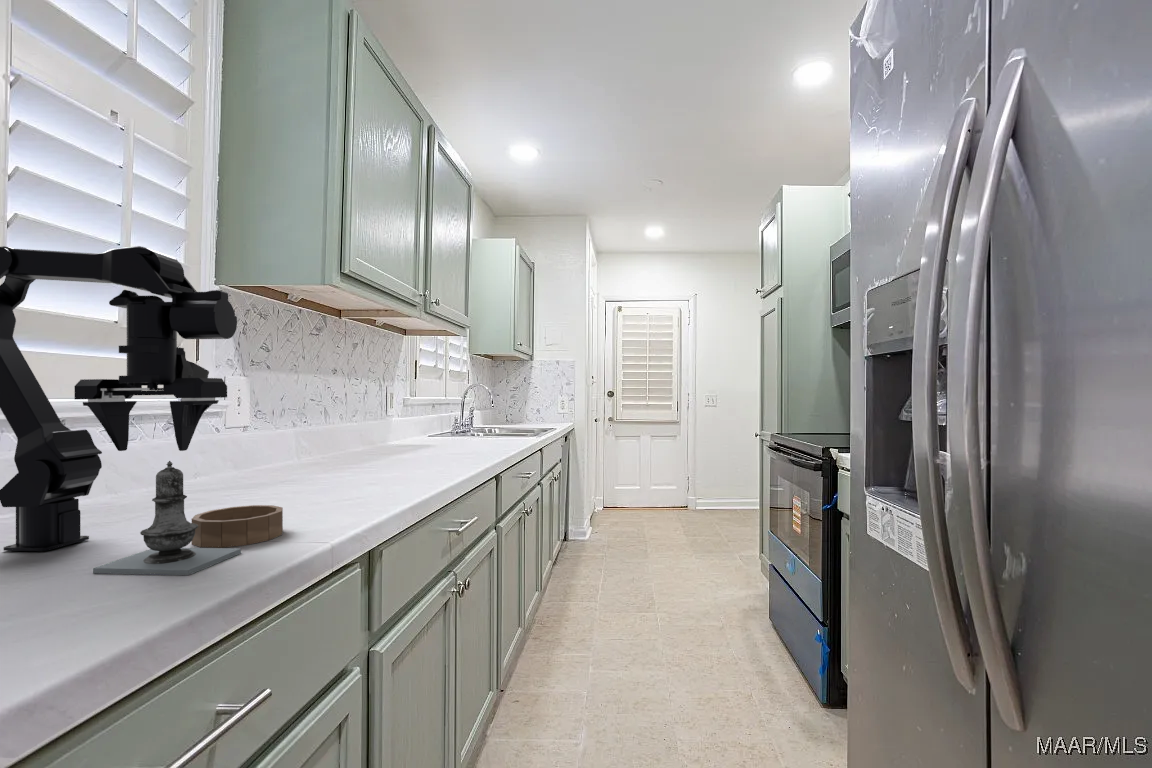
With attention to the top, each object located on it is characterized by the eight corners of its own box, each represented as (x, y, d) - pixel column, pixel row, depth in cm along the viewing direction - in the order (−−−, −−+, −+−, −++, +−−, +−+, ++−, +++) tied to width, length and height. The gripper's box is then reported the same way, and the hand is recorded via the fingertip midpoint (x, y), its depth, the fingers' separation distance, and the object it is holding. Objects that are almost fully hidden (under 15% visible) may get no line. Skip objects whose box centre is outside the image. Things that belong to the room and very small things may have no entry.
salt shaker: (146, 567, 67) (146, 465, 68) (135, 558, 71) (134, 461, 71) (204, 556, 72) (204, 460, 72) (190, 548, 76) (190, 457, 76)
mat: (93, 573, 68) (93, 568, 68) (155, 551, 77) (155, 547, 77) (188, 575, 66) (188, 569, 66) (241, 553, 75) (240, 548, 75)
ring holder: (173, 546, 79) (172, 521, 79) (229, 527, 90) (229, 505, 90) (250, 548, 78) (250, 522, 78) (297, 528, 89) (297, 505, 89)
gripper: (252, 343, 88) (252, 445, 88) (139, 345, 90) (139, 445, 90) (197, 336, 77) (198, 452, 77) (70, 339, 79) (70, 453, 79)
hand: (152, 450), depth 81 cm, fingers open, 9 cm apart
